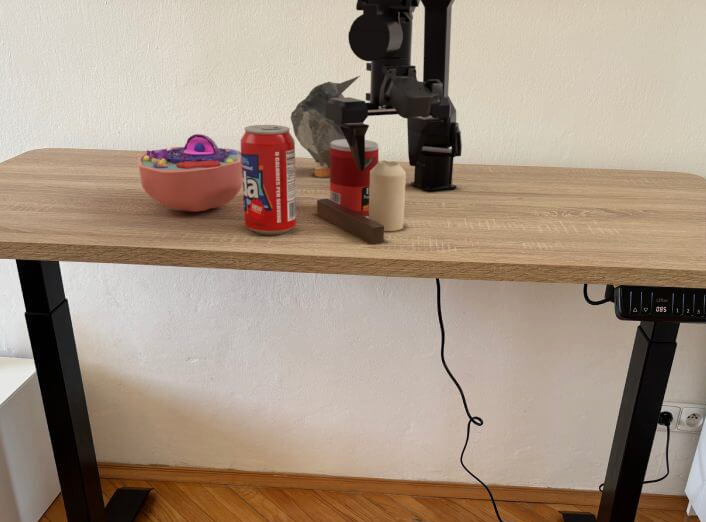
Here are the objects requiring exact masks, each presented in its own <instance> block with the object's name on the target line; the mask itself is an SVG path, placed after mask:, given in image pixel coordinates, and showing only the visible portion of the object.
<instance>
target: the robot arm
mask: <svg viewBox="0 0 706 522" xmlns="http://www.w3.org/2000/svg"><path fill="white" fill-rule="evenodd" d="M455 1H456V0H357V1H356V5H355V9H356V11H362V14H360V15H359V16H357V18H355V19H354V20H353V22H352V24H351V25H350V28H349V31H348V35H347V36H348V37H347V38H348V44H349V47H350V49H351V51H352V52H353V54H354V55H355V56H356V58H358V59H360V60H362V61H365V62H366V65H365V66H366V68H365V70H366V71H367V72H370V89H369V92H366V93H365V100H362V99H358V98H354V97H350V96H349V97H348V96H347V97H344V98H330V99H329V100H328V102H327V104H326V106H325V118H327V119H330V120H333V124H335V125H338V126H339V127H340V128H341V130H342V132H343V134H344V136H345V138H346V140H347V142H348V145H349V147H350V150H351V152H352V155H353V157H354V160H355V162H356V165H357V168H358V170H360V171H364V165H365V140H366V134H367V132H368V130H369V127H370V125H369V124H367V123H365V121H366V120H367V118H368V117H374V116H375V117H376V116H390V115H391V116H393V115H398V116H399V117H401V118H403V119H406V123H407V125H406V126H407V153H408V155H407V156H408V163H409V164H408V165H409V166H410V167H414V174H413V175H414V177H413V181H411V182H410V185H411V186H414V187H417V188H420V189H422V190H423V191H424V190H425V191H427V192H435V191H436V192H437V191H444V190H453V189H457V185H456V184H453V170H454V158H456V157H461V156H462V149H463V141H462V132H461V131H462V130H460V126H459V122H457V109H456V107H455V106H454V104H453V102H452V99H451V98H450V96H449V85H450V62H451V61H450V58H451V32H452V12H453V11H452V9H453V8H452V7H453V4H454V3H455ZM420 2H421V3H422V5H423V8H424V15H423V16H424V17H423V18H424V19H423V23H424V24H423V63H422V64H423V66H422V67H423V70H422V81H419V80H418V78H417V69H416V65H413V64H411V63H412V41H413V20H414V14H413V13H415V10H416V8H419V5H420ZM366 101H367V102H366Z"/></svg>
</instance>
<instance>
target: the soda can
mask: <svg viewBox="0 0 706 522" xmlns="http://www.w3.org/2000/svg"><path fill="white" fill-rule="evenodd" d="M295 142H296V141H295V139H294V137H293V136H292V133H290V127H288V126H284V125H279V124H278V125H276V124H255V125H247V126H246V127H244V133H243V135H242V136H241V138H240V152H241V162H242V199H243V218H244V225H245V227H246V228H247V229H249V230H251V231H252V232H254V233H256V234H259V235H266V236H275V235H283V234H286V233H288V232H289V231H291V230H292V229H294V228H295V227H296V226H297V192H296V191H297V190H296V189H297V188H296V186H297V185H296V144H295Z"/></svg>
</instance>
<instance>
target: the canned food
mask: <svg viewBox="0 0 706 522" xmlns="http://www.w3.org/2000/svg"><path fill="white" fill-rule="evenodd" d="M378 163H379V143H377V142H376V141H373V140H367V139H365V165H364V171H360V170H358V168H357V165H356V162H355V160H354V157H353V155H352V152H351V150H350V147H349V145H348V142H347V140H346V139H341V140H335V141H332V142H331V145H330V177H329V200H332V201H334V202H336V203H338V204H340V205H342V206H344V207H346V208H348V209H350V210H352V211H354V212H357V213H359V214H361V215H363V216H369V191H370V171H371V170H372V169H373V168H374V167H375V166H376V165H377V164H378Z"/></svg>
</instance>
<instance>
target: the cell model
mask: <svg viewBox="0 0 706 522" xmlns="http://www.w3.org/2000/svg"><path fill="white" fill-rule="evenodd" d="M136 161H137V165H138V170H139V175H140V183H141V187H142V188H143V190H144V191H145V193H146V194H147V195H148V196H149V197H150V198H151V199H153V200H154V201H156V202H157V203H159V204H160V205H162V206H164V207H165V208H167V209H169V210H173V211H183V212H193V213H194V212H195V213H196V212H201V213H202V212H205V211H207V210H210V209H216V208H219V207H222V206H225V205H228V204H229V203H230V202H232V201H233V200H234V198H235V197H237V195H238V193H240V191H241V189H242V188H243V182H242V162H241V151H239V150H237V149H233V148H221V147H218V145H217V143H216V142H215V141H214V140H213V138H212V137H209V136H207V135H206V134H202V133H197V134H192V135H191V136H189V137H188V138H187V141H186V143H185V144H184V146H175V147H173V146H171V147H168V148H167V147H166V148H162V149H151V150H148V149H147V150H146V152H144V153H142V154H140V155H139V156H138V157H137V160H136Z"/></svg>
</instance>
